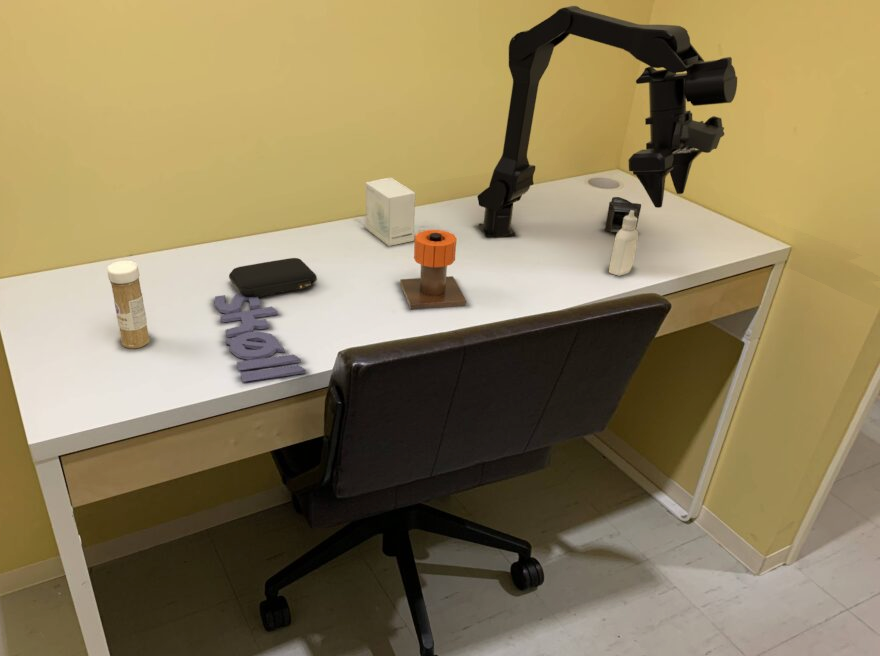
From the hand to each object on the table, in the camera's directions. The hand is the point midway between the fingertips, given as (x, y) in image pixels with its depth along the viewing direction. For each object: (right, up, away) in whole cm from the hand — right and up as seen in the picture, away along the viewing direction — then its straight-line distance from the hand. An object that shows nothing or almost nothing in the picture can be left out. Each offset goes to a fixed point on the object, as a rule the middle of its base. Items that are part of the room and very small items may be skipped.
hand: (669, 200), depth 135 cm
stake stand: (-42, -16, +3) cm, 45 cm away
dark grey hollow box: (+1, +1, +30) cm, 30 cm away
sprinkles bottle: (-91, -26, -12) cm, 95 cm away
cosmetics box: (-49, -1, +26) cm, 55 cm away
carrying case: (-70, -15, +5) cm, 72 cm away
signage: (-72, -24, -10) cm, 77 cm away
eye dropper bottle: (-5, -11, +12) cm, 17 cm away
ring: (-42, -11, -1) cm, 43 cm away
